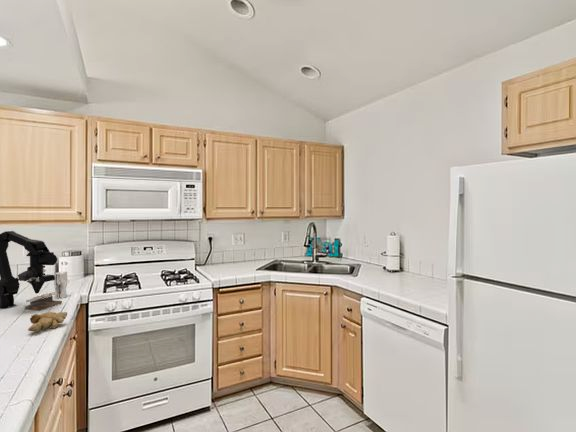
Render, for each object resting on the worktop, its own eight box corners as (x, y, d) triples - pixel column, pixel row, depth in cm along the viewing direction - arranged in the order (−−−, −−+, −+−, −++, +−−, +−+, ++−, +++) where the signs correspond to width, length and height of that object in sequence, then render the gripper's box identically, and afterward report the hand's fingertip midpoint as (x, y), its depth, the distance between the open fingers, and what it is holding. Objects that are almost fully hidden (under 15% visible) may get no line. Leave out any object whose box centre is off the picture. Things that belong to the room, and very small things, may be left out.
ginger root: (60, 316, 162) (60, 301, 160) (71, 331, 152) (72, 315, 150) (20, 325, 150) (20, 309, 148) (29, 342, 140) (29, 326, 138)
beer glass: (51, 299, 196) (51, 274, 196) (56, 296, 203) (56, 272, 202) (65, 298, 198) (64, 273, 197) (69, 295, 204) (69, 271, 204)
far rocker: (42, 298, 186) (42, 295, 186) (47, 296, 188) (46, 294, 189) (52, 295, 184) (51, 292, 184) (56, 293, 187) (56, 291, 187)
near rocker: (26, 302, 177) (25, 300, 177) (31, 301, 180) (31, 298, 180) (36, 299, 175) (35, 296, 175) (41, 298, 178) (40, 295, 178)
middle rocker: (35, 300, 181) (34, 298, 181) (40, 299, 184) (39, 296, 184) (44, 296, 180) (43, 294, 180) (49, 295, 182) (48, 293, 182)
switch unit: (25, 309, 177) (24, 301, 177) (48, 302, 189) (48, 295, 189) (39, 310, 174) (39, 303, 174) (61, 303, 187) (61, 296, 187)
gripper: (7, 266, 171) (7, 296, 171) (35, 268, 166) (35, 298, 167) (29, 262, 182) (29, 290, 182) (55, 264, 177) (55, 293, 178)
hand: (36, 293), depth 177 cm, fingers closed
